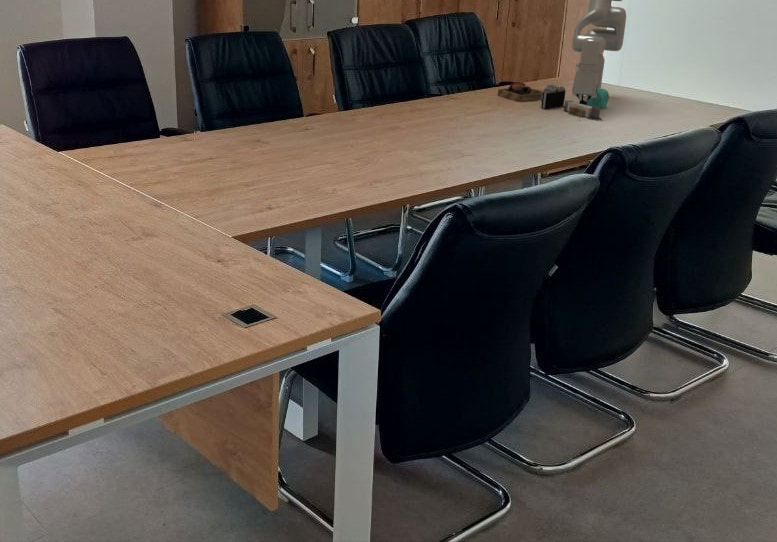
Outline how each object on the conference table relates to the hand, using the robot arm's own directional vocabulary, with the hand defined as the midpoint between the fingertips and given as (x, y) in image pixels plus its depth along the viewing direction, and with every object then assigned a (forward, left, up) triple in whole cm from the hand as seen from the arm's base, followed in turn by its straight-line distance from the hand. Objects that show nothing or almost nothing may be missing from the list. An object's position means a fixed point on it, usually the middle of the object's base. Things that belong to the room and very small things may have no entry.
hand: (582, 109), depth 399 cm
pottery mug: (-36, -6, -2) cm, 36 cm away
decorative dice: (-7, +16, -2) cm, 18 cm away
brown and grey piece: (+7, -4, -1) cm, 8 cm away
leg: (+1, -4, -1) cm, 4 cm away
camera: (-15, -5, -2) cm, 16 cm away
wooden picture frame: (-35, -3, -1) cm, 36 cm away
